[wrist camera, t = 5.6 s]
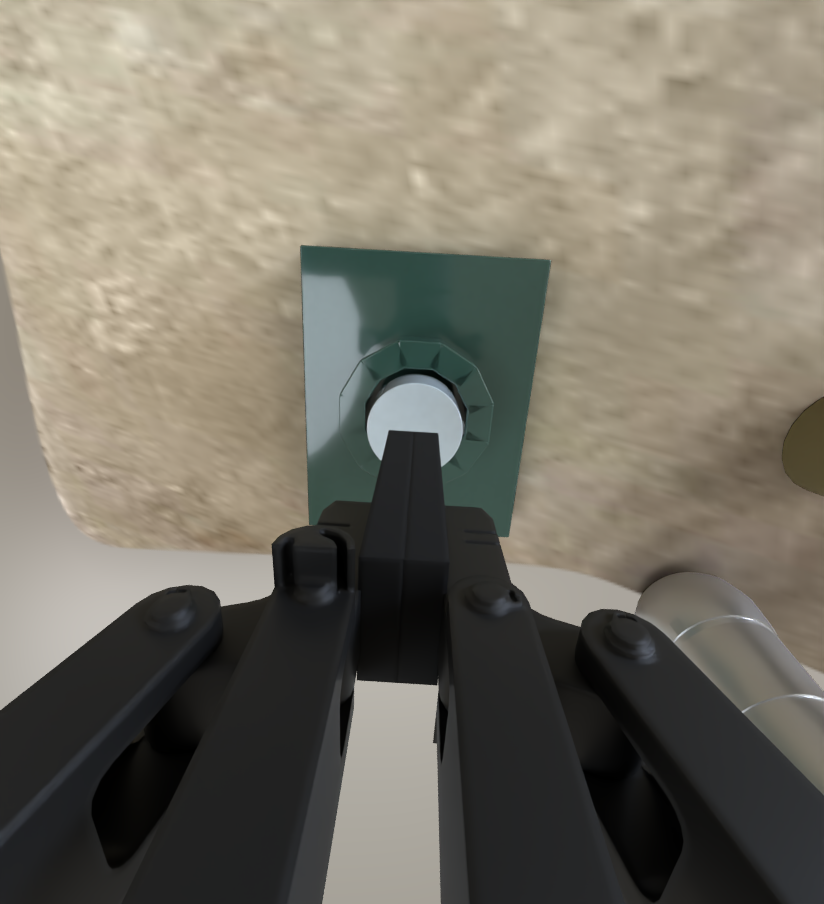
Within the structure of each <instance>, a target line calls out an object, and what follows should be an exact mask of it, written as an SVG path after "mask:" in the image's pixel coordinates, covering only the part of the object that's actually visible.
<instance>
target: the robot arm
mask: <svg viewBox="0 0 824 904" xmlns="http://www.w3.org/2000/svg"><path fill="white" fill-rule="evenodd" d="M272 556H273V568H274V569H273V570H274V584H275V588H274V590H273V592H272V594H271V595H270V596H268V597H265V598H263V599H260V600H255V601H252V602H248V603H240V604H234V605H228V606H223V607H221V606H220V600H219V598H218V597H217V596H216V594H215V592H214V591H212V590H209V589H207V588H205V587H203V586H192V585H185V586H179V587H172V588H167V589H165V590H162V591H159V592H156V593H154V594H151V595H150V596H148V597H146V598H145V599H143V600H141V601H140V602H138V603H136V604H135V605H134V606H133V607H131V608H130V609H129V610H128V611H126V612H125V613H124V614H122V615H121V616H120V617H119V618H117V619H116V620H115V621H113V622H112V623H111V624H110V625H108V626H107V627H106V628H105V629H103V630H102V631H101V632H100V633H98V634H97V635H96V636H94V637H93V638H92V639H91V640H89V641H88V642H87V643H86V644H84V645H83V646H82V647H80V648H79V649H78V650H77V651H75V652H74V653H73V654H71V655H70V656H69V657H68V658H66V659H65V660H64V661H63V662H61V663H60V664H59V665H58V666H56V667H55V668H54V669H53V670H51V671H50V672H49V673H47V674H46V675H45V676H44V677H42V678H41V679H40V680H39V681H37V682H36V683H35V684H33V685H32V686H31V687H30V688H28V689H27V690H26V691H25V692H23V693H22V694H21V695H19V696H18V697H17V698H16V699H14V700H13V701H12V702H11V703H9V704H8V705H7V706H5V707H4V708H3V709H2V710H0V904H322V900H323V894H324V888H325V882H326V876H327V869H328V863H329V857H330V851H331V845H332V838H333V832H334V827H335V820H336V814H337V808H338V802H339V795H340V790H341V783H342V777H343V771H344V765H345V758H346V753H347V746H348V740H349V734H350V728H351V722H352V716H353V709H354V683H355V678H356V672H357V680H362V681H377V682H393V683H409V684H425V685H437V682H438V685H439V693H438V702H437V712H436V721H435V730H434V740H433V743H437V760H438V802H439V844H440V882H441V883H440V886H441V904H824V795H823V794H822V793H821V792H820V791H819V790H818V789H817V788H816V787H815V786H814V785H813V784H812V783H811V782H810V781H809V780H808V779H807V778H806V777H805V776H804V775H803V774H802V773H801V772H800V771H799V770H798V769H797V768H796V767H795V766H794V765H793V763H792V762H791V761H790V760H789V759H788V758H787V757H786V756H785V755H784V754H783V753H782V752H781V751H780V750H779V749H778V748H777V747H776V746H775V745H774V744H773V743H772V742H771V741H770V740H769V739H768V738H767V737H766V736H765V735H764V734H763V733H762V732H761V731H760V730H759V729H758V728H757V727H756V726H755V725H754V724H753V723H752V722H751V721H750V720H749V719H748V718H747V717H746V716H745V715H744V714H743V713H742V712H741V711H740V710H739V709H738V708H737V707H736V706H735V705H734V703H733V702H732V701H731V700H730V699H729V698H728V697H727V696H726V695H725V694H724V693H723V692H722V691H721V690H720V689H719V688H718V687H717V686H716V685H715V684H714V683H713V682H712V681H711V680H710V679H709V678H708V677H707V676H706V675H705V674H704V673H703V672H702V671H701V670H700V669H699V668H698V667H697V666H696V665H695V664H694V663H693V662H692V661H691V660H690V659H689V658H688V657H687V656H686V655H685V654H684V653H683V652H682V651H681V650H680V649H679V648H678V647H677V646H676V645H675V644H674V642H673V641H672V640H671V639H670V638H669V637H668V636H667V635H666V634H664V633H663V632H662V631H661V630H659V629H658V628H657V627H656V626H654V625H653V624H652V623H650V622H648V621H646V620H644V619H642V618H640V617H638V616H636V615H634V614H630V613H627V612H623V611H620V610H611V609H600V610H597V611H594V612H591V613H589V614H588V615H587V616H586V617H585V618H584V619H583V620H582V624H581V627H578V626H575V625H572V624H568V623H565V622H562V621H558V620H555V619H552V618H549V617H547V616H544V615H542V614H540V613H538V612H536V611H534V610H533V609H531V607H530V604H529V602H528V600H527V598H526V597H525V595H524V593H523V592H522V591H521V590H519V589H518V588H517V587H516V586H514V585H513V584H512V583H511V580H510V577H509V573H508V570H507V566H506V563H505V559H504V556H503V552H502V549H501V545H500V542H499V538H498V535H497V531H496V528H495V524H494V521H493V519H492V518H491V517H490V516H489V515H488V514H487V513H486V512H485V511H484V510H483V509H482V508H478V507H462V506H445V503H444V492H443V481H442V470H441V458H440V447H439V436H438V433H430V432H414V431H397V430H389V431H388V436H387V440H386V444H385V448H384V452H383V456H382V461H381V465H380V469H379V473H378V477H377V481H376V486H375V490H374V494H373V498H372V502H355V501H339V500H336V501H334V502H333V503H332V504H330V505H329V506H328V507H326V508H325V509H324V510H323V511H322V513H321V516H320V518H319V520H318V523H317V525H312V526H304V527H300V528H296V529H292V530H290V531H288V532H286V533H284V534H282V535H280V536H279V537H278V538H277V539H276V540H275V541H274V542H273V543H272Z"/></svg>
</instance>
